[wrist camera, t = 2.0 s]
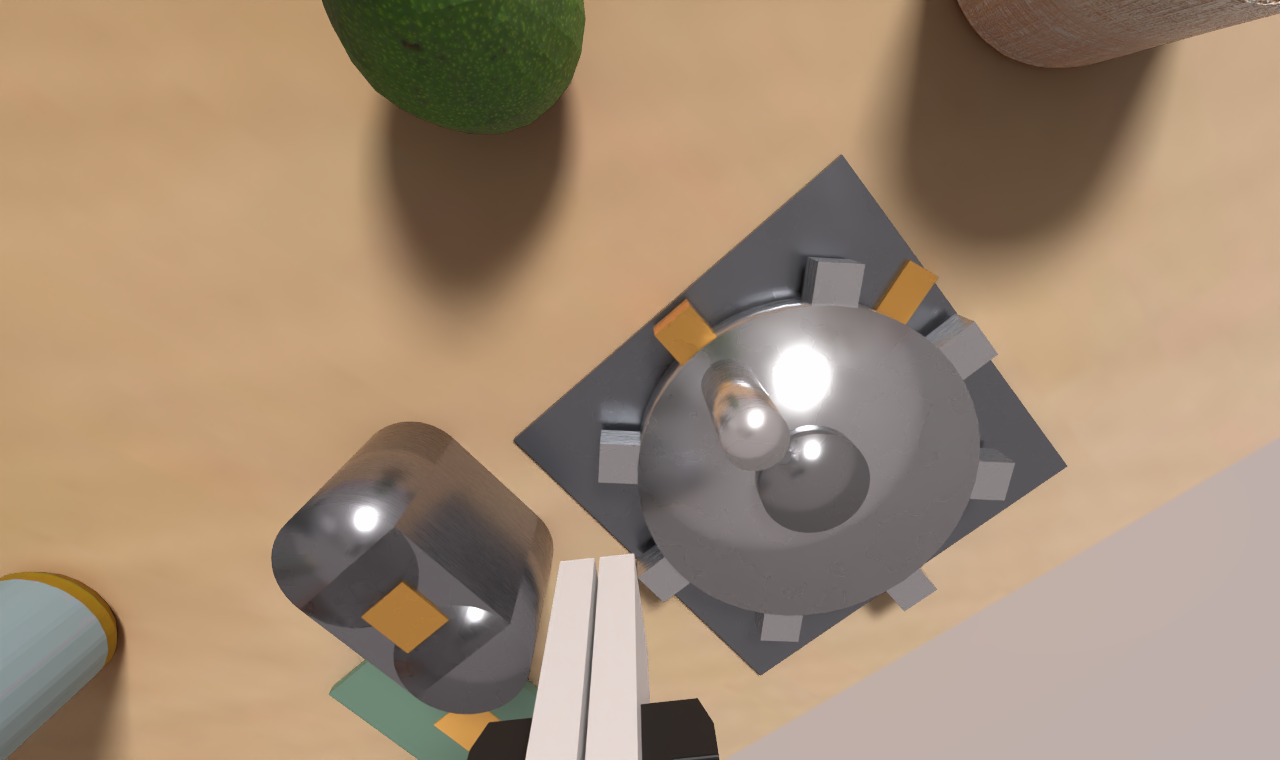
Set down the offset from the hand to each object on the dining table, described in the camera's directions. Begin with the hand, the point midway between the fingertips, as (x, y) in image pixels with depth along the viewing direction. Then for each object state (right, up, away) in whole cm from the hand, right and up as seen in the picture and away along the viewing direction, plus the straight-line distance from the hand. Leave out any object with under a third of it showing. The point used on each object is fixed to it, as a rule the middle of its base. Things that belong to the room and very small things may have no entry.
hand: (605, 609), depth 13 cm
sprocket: (+9, +2, +17) cm, 19 cm away
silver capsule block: (-9, -2, +18) cm, 20 cm away
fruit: (-5, +19, +11) cm, 23 cm away
